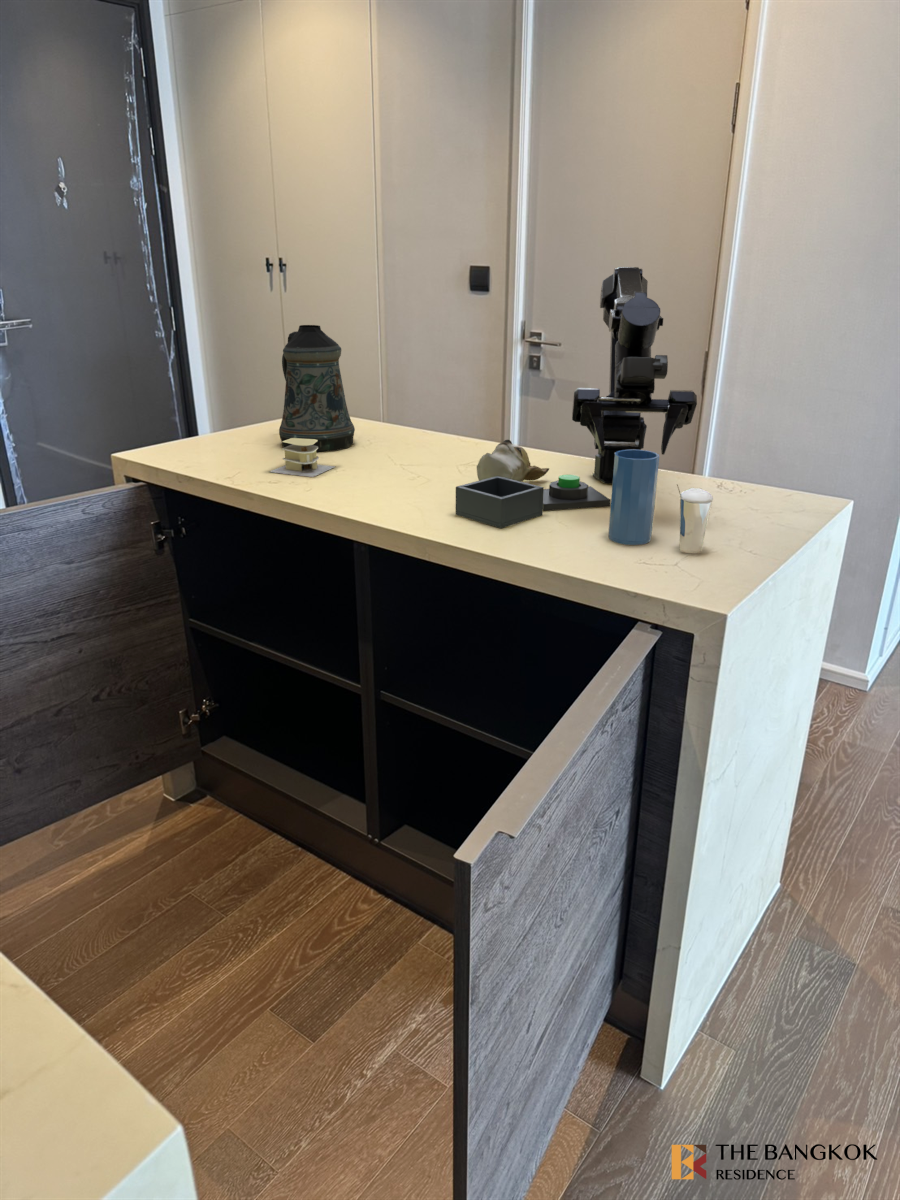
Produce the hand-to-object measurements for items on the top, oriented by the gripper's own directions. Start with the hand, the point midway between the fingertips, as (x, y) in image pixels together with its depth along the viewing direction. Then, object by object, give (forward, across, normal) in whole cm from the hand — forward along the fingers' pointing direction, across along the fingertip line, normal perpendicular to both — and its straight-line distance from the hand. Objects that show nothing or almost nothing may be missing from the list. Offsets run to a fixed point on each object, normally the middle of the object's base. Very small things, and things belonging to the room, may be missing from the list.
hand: (632, 452), depth 132 cm
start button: (-3, -9, +16) cm, 19 cm away
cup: (+12, 0, +4) cm, 13 cm away
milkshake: (+16, +8, +1) cm, 18 cm away
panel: (-1, -9, +18) cm, 20 cm away
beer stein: (-29, -65, +46) cm, 84 cm away
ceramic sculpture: (-8, -20, +25) cm, 33 cm away
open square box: (+6, -20, +11) cm, 24 cm away
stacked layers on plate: (-12, -61, +30) cm, 69 cm away
